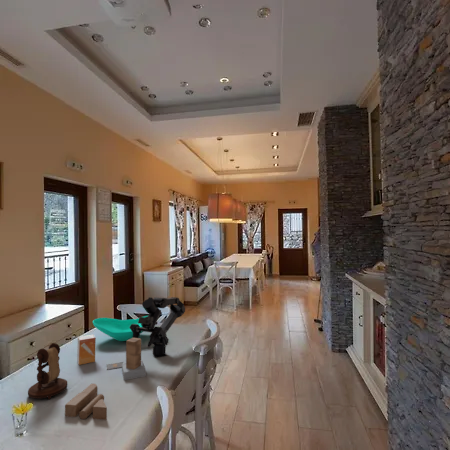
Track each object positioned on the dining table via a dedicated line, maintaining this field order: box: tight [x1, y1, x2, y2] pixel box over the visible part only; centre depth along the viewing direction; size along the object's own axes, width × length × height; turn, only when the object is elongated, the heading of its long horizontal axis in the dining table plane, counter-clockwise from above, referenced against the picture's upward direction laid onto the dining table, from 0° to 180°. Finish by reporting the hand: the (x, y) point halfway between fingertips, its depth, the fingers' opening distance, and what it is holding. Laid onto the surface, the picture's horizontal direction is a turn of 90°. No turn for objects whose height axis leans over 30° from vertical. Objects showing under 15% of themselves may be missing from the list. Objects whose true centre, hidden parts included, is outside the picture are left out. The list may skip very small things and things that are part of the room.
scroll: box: [27, 342, 68, 400], centre depth 130 cm, size 15×15×20 cm
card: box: [106, 361, 124, 371], centre depth 156 cm, size 8×6×1 cm
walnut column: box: [125, 337, 142, 369], centre depth 148 cm, size 5×5×13 cm
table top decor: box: [92, 315, 148, 342], centre depth 195 cm, size 40×28×13 cm
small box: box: [76, 333, 97, 366], centre depth 162 cm, size 8×6×13 cm
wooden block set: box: [64, 383, 108, 421], centre depth 120 cm, size 17×6×18 cm
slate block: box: [121, 360, 146, 381], centre depth 148 cm, size 10×10×4 cm
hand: (140, 345), depth 153 cm, fingers open, 9 cm apart
